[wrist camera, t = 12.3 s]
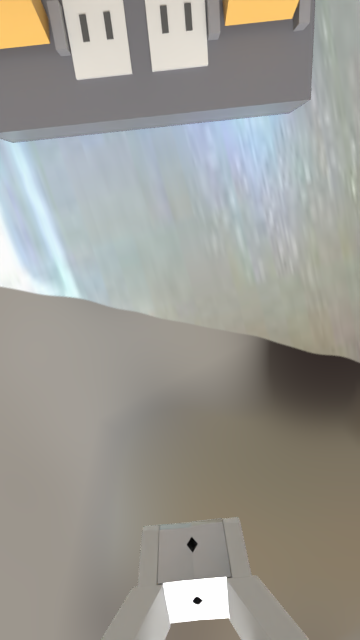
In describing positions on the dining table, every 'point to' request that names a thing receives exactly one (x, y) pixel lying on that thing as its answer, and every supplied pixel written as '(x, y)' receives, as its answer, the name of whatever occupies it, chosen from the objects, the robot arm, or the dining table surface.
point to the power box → (152, 68)
